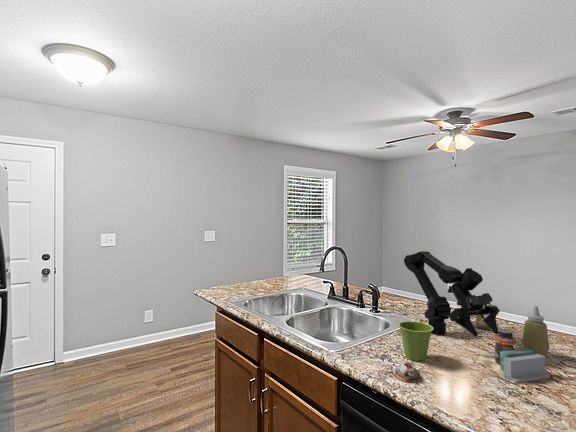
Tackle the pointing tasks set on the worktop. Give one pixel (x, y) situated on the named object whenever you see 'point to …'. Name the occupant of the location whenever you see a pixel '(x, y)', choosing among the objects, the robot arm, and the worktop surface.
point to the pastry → (407, 373)
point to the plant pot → (415, 339)
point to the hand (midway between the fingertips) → (487, 335)
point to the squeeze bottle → (535, 333)
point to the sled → (503, 354)
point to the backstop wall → (525, 368)
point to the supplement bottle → (503, 343)
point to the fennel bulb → (480, 322)
